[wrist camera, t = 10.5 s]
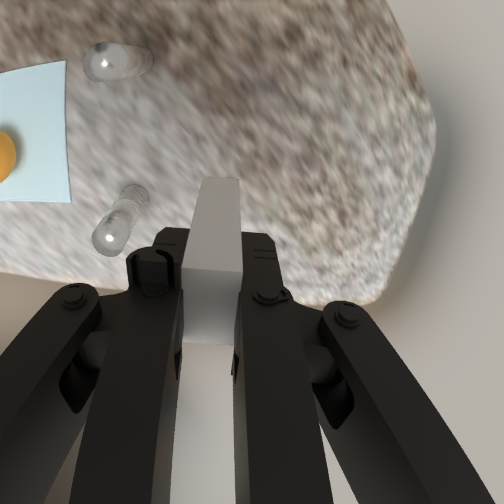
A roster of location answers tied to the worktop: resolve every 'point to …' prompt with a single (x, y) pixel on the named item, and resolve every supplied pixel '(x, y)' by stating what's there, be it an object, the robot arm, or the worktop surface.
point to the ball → (6, 156)
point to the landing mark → (36, 133)
